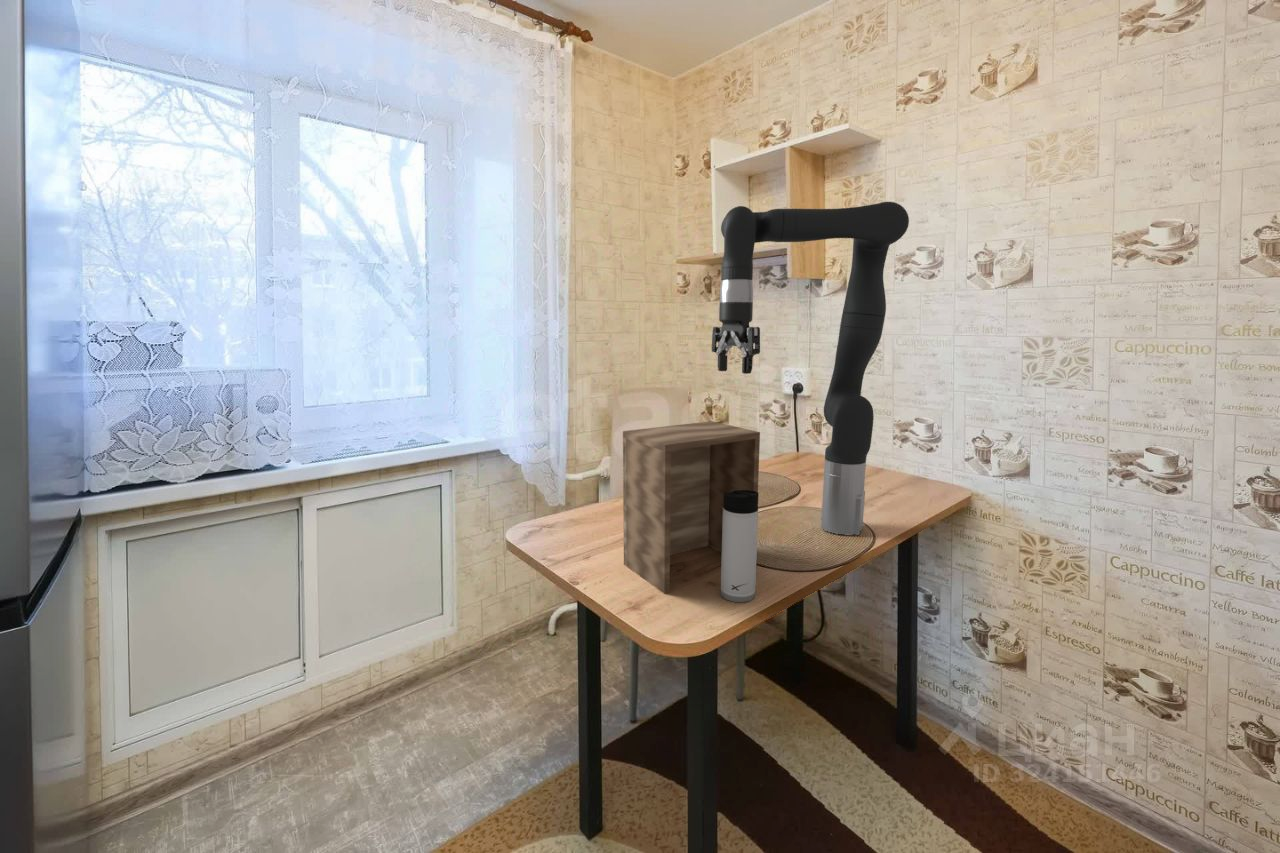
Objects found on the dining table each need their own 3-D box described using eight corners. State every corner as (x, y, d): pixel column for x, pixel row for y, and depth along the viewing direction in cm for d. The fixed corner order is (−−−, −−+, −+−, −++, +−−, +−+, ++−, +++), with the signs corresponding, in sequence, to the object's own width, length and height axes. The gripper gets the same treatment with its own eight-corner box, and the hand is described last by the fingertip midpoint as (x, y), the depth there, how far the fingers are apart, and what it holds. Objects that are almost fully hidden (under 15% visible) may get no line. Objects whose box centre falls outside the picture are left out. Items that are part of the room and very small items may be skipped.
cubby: (755, 566, 116) (760, 432, 111) (664, 593, 104) (665, 444, 99) (709, 542, 128) (711, 421, 123) (623, 564, 117) (622, 431, 112)
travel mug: (739, 607, 99) (743, 498, 96) (713, 593, 104) (716, 489, 101) (763, 597, 103) (768, 491, 99) (737, 584, 108) (740, 483, 104)
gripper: (770, 300, 124) (767, 373, 127) (728, 302, 136) (726, 369, 139) (744, 299, 120) (742, 375, 123) (703, 301, 132) (702, 370, 135)
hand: (734, 372), depth 131 cm, fingers open, 8 cm apart
